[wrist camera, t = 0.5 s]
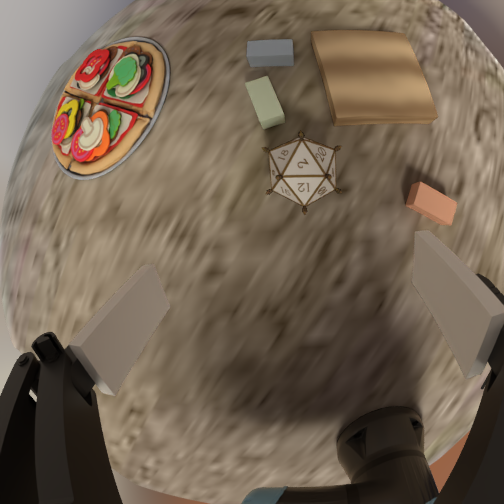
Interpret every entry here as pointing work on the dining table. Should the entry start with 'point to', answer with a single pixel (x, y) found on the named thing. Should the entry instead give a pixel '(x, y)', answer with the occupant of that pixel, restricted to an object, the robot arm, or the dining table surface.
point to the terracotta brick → (431, 203)
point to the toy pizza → (109, 106)
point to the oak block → (372, 78)
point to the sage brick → (265, 102)
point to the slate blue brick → (270, 53)
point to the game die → (302, 170)
